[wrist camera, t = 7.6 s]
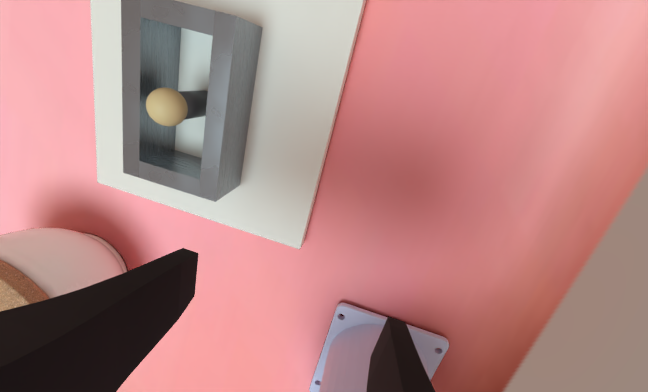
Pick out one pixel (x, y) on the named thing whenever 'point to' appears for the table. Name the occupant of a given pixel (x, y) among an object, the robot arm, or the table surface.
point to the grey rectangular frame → (163, 72)
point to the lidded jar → (52, 264)
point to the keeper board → (265, 118)
